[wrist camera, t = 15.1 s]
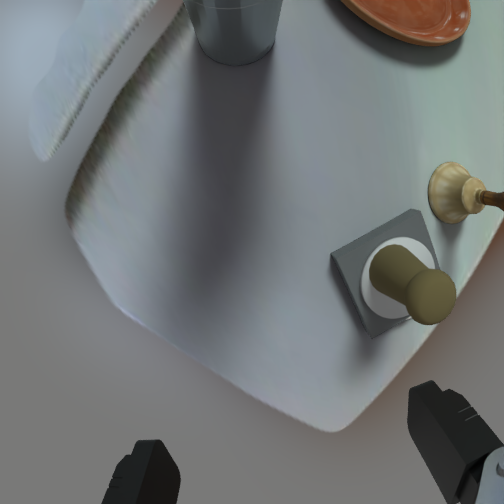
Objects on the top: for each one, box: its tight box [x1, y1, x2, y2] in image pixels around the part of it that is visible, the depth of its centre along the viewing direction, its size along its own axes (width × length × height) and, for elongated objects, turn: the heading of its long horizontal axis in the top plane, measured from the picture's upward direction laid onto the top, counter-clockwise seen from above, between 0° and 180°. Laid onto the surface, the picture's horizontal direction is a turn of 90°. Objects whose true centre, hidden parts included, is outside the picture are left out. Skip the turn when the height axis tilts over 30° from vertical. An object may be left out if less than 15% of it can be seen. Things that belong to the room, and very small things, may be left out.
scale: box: [331, 209, 440, 339], centre depth 37 cm, size 12×12×4 cm
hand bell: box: [428, 162, 504, 224], centre depth 29 cm, size 8×8×16 cm
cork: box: [369, 244, 456, 325], centre depth 30 cm, size 6×6×11 cm
